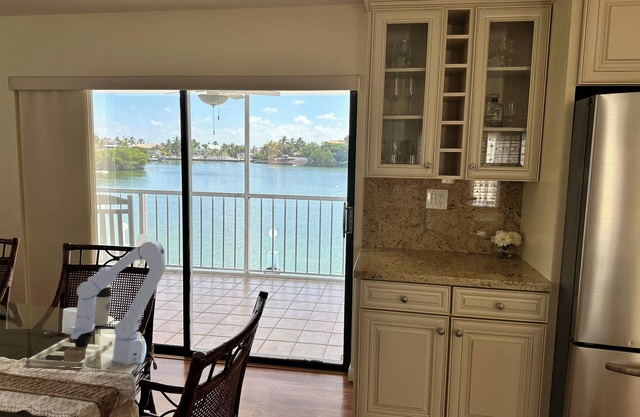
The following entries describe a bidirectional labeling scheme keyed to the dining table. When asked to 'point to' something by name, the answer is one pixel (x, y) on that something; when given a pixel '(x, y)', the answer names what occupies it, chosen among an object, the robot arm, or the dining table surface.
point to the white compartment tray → (91, 354)
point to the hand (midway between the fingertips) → (80, 354)
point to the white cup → (68, 320)
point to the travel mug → (102, 306)
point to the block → (74, 354)
